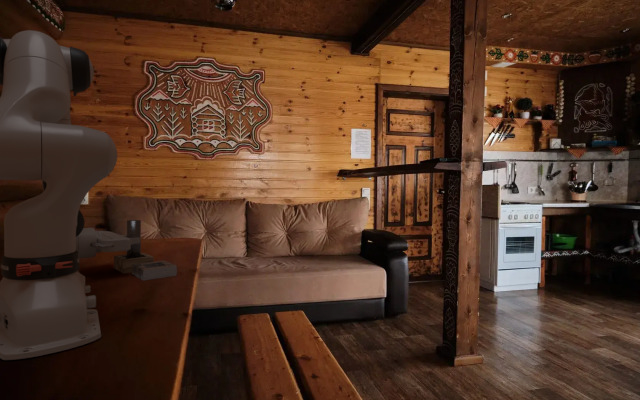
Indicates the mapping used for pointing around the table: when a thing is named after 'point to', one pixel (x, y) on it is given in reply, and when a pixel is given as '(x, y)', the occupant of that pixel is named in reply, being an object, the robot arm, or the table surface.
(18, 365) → the table surface
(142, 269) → the socket
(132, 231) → the dark rounded handle
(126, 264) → the rack
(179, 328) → the table surface
